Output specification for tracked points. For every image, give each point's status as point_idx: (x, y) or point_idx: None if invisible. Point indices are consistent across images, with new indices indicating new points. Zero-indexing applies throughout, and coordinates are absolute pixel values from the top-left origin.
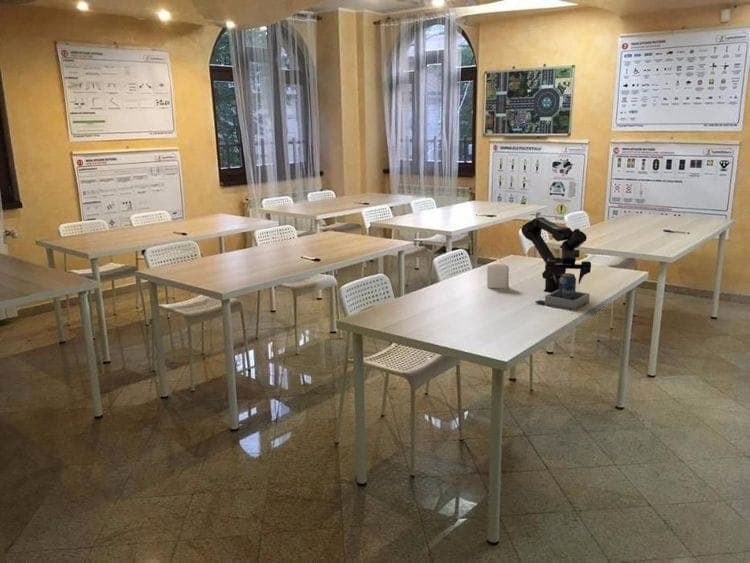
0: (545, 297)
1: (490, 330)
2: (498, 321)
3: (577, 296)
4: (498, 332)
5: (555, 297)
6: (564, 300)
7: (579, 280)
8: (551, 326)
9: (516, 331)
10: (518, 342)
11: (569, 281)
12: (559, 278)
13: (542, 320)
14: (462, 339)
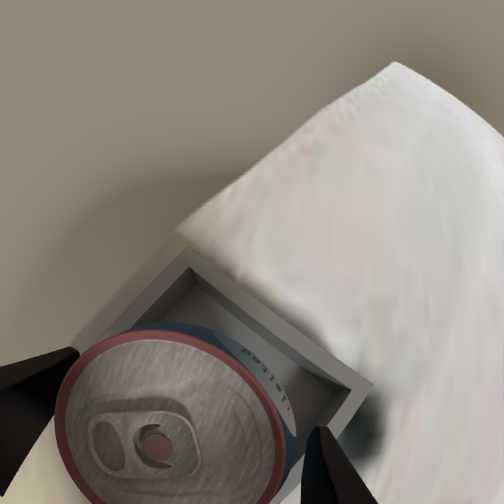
0: (367, 383)
1: (462, 144)
2: (473, 190)
3: None
4: (446, 130)
5: (310, 350)
6: (254, 301)
7: (53, 356)
8: (340, 124)
9: (417, 123)
10: (397, 87)
11: (182, 324)
12: (294, 454)
13: (369, 168)
14: (477, 127)
